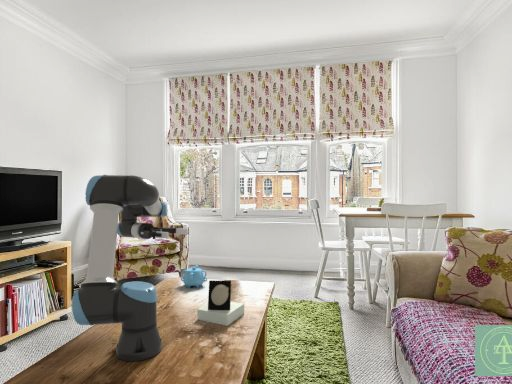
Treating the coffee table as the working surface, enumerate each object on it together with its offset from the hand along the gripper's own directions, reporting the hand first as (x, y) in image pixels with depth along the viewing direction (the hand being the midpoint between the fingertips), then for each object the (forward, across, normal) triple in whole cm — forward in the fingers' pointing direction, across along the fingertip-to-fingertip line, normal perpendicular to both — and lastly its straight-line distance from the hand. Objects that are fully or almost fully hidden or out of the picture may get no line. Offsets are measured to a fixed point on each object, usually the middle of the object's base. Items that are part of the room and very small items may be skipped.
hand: (178, 233), depth 152 cm
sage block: (+21, -4, -37) cm, 42 cm away
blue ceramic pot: (-18, -37, -36) cm, 55 cm away
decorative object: (+21, -3, -32) cm, 38 cm away
